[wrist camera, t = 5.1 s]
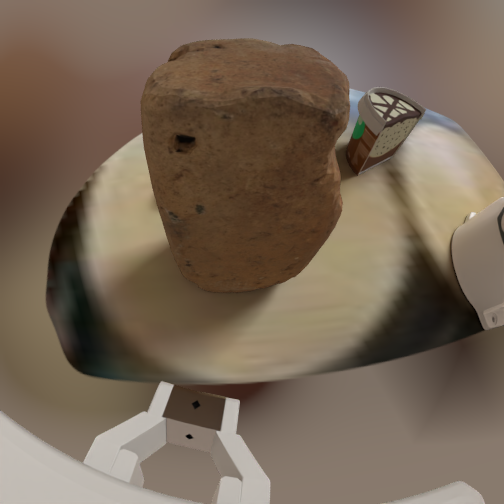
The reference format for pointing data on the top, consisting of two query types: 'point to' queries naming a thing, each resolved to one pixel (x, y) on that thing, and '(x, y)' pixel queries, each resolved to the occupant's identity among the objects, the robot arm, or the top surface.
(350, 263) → the top surface
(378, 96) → the food container
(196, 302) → the top surface
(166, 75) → the block
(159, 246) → the top surface
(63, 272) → the top surface
